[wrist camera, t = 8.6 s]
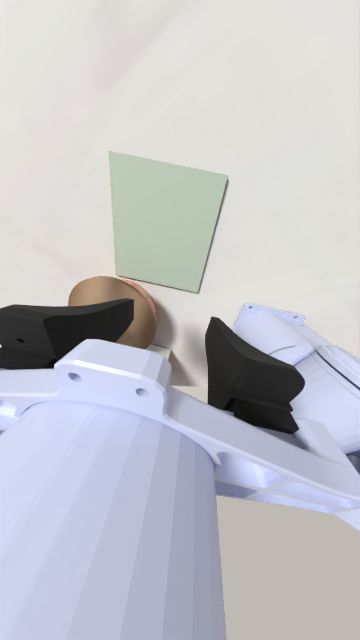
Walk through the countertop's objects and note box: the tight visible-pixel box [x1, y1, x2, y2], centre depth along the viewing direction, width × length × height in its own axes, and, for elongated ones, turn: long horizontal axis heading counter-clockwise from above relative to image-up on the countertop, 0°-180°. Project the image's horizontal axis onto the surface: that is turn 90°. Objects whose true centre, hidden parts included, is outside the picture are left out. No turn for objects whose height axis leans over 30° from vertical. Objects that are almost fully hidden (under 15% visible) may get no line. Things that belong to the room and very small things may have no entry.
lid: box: [68, 276, 156, 350], centre depth 19 cm, size 13×13×6 cm
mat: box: [109, 151, 228, 293], centre depth 17 cm, size 13×13×1 cm
